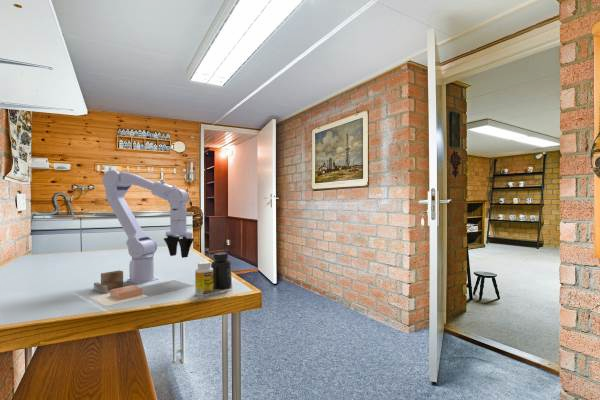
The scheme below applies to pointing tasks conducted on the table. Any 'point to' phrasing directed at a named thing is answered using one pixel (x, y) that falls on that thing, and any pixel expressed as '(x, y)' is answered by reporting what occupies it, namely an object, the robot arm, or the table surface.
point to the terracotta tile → (126, 292)
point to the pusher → (109, 281)
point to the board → (147, 291)
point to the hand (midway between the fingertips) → (178, 256)
